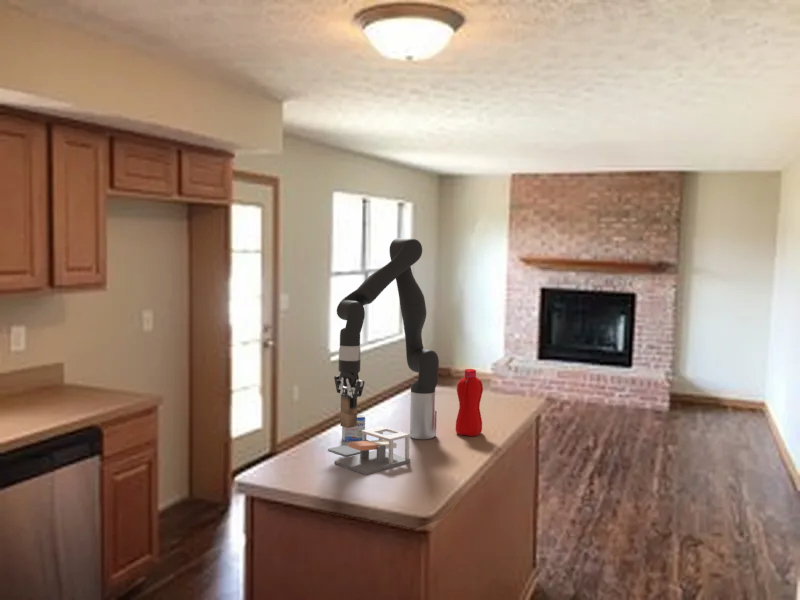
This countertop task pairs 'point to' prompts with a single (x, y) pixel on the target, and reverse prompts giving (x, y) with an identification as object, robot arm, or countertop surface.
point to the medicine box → (354, 430)
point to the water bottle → (469, 404)
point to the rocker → (370, 444)
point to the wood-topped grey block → (347, 412)
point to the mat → (344, 450)
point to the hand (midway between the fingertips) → (348, 407)
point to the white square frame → (377, 453)
